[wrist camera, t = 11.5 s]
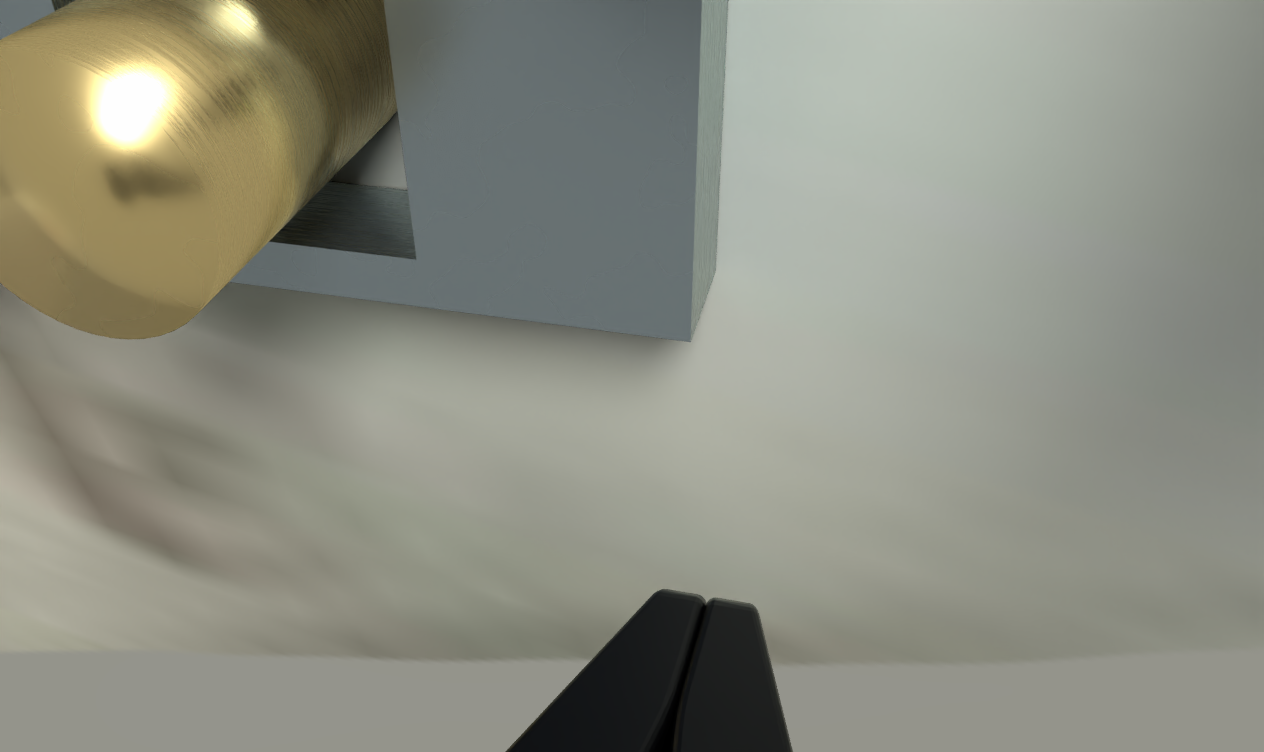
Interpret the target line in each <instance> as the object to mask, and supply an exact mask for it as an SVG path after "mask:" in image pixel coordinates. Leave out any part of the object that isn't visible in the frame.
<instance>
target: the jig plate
mask: <svg viewBox="0 0 1264 752" xmlns="http://www.w3.org/2000/svg"><path fill="white" fill-rule="evenodd" d="M73 1H75V0H0V40H1V39H3V38H5V37H7V36H9V35H10V34H12V33H14V32H16V31H18V30H20V29H22V28H24V27H26V26H28V25H30V24H31V23H33V22H35V21H37V20H39V19H41V18H43V17H45V16H47V15H49V14H51V13H52V12H54V11H56V10H58V9H60V8H62V7H64V6H66V5H68V4H70V3H72V2H73ZM384 8H385V16H386V24H387V31H388V39H389V47H390V55H391V63H392V71H393V79H394V86H395V94H396V102H397V110H398V118H399V126H400V134H401V141H402V149H403V157H404V165H405V173H406V181H407V188H408V190H400V189H391V188H382V187H373V186H363V185H354V184H345V183H336V182H327V183H326V184H325V185H324V186H323V187H322V188H321V189H320V190H319V191H318V192H317V193H316V194H315V196H314V197H313V198H312V199H311V200H310V201H309V202H308V203H307V204H306V205H305V206H304V207H303V208H302V209H301V210H300V211H299V212H298V213H297V214H296V215H295V216H294V217H293V218H292V219H291V220H290V221H289V222H288V223H287V224H286V225H285V226H284V227H283V228H282V229H281V230H280V231H279V232H278V233H277V234H276V235H275V236H274V237H273V238H272V239H271V240H270V241H269V242H268V243H267V244H266V245H265V246H264V247H263V248H262V249H261V250H260V251H259V252H258V253H257V254H256V255H255V256H254V257H253V258H252V259H251V260H250V261H249V262H248V263H247V264H246V265H245V266H244V267H243V268H242V269H241V270H240V271H239V272H238V273H237V274H236V275H235V276H234V277H233V278H232V279H231V280H230V281H229V282H234V283H241V284H249V285H257V286H264V287H272V288H280V289H287V290H295V291H303V292H310V293H318V294H326V295H333V296H341V297H349V298H356V299H364V300H372V301H380V302H387V303H395V304H403V305H410V306H418V307H426V308H433V309H441V310H449V311H456V312H464V313H472V314H479V315H487V316H495V317H502V318H510V319H518V320H525V321H533V322H541V323H548V324H556V325H564V326H571V327H579V328H587V329H594V330H602V331H610V332H617V333H625V334H633V335H640V336H648V337H656V338H664V339H671V340H679V341H687V342H691V340H692V337H693V334H694V331H695V328H696V325H697V322H698V320H699V317H700V314H701V311H702V308H703V305H704V302H705V300H706V297H707V294H708V291H709V288H710V285H711V282H712V280H713V277H714V274H715V271H716V250H717V229H718V207H719V185H720V163H721V142H722V120H723V98H724V76H725V55H726V33H727V11H728V0H384Z"/></svg>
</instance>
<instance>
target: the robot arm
mask: <svg viewBox="0 0 1264 752" xmlns="http://www.w3.org/2000/svg"><path fill="white" fill-rule="evenodd" d="M506 752H793V751H792V747H791V743H790V739H789V734H788V730H787V726H786V722H785V718H784V714H783V710H782V706H781V702H780V698H779V694H778V689H777V686H776V682H775V677H774V673H773V669H772V665H771V661H770V657H769V653H768V649H767V645H766V641H765V637H764V633H763V628H762V624H761V620H760V616H759V613H758V610H757V609H756V607H755V606H754V605H753V604H750V603H745V602H739V601H733V600H727V599H721V598H712V599H710V600H709V601H708V602H707V603H706V601H705V599H704V598H703V597H702V596H700V595H698V594H692V593H686V592H680V591H674V590H668V589H662V590H659V591H657V592H655V593H654V594H653V595H652V596H651V597H650V598H649V599H648V600H647V601H646V602H645V603H644V605H643V606H642V607H641V608H640V609H639V610H638V611H637V612H636V613H635V614H634V615H633V616H632V617H631V618H630V619H629V621H628V622H627V623H626V624H625V625H624V626H623V627H622V628H621V629H620V630H619V631H618V632H617V633H616V634H615V635H614V637H613V638H612V639H611V640H610V641H609V642H608V643H607V644H606V645H605V646H604V647H603V648H602V649H601V650H600V651H599V653H598V654H597V655H596V656H595V657H594V658H593V659H592V660H591V661H590V662H589V663H588V664H587V665H586V666H585V667H584V669H583V670H582V671H581V672H580V673H579V674H578V675H577V676H576V677H575V678H574V679H573V680H572V682H570V683H569V685H568V686H567V687H566V688H565V689H564V690H563V691H562V692H561V693H560V694H559V695H558V696H557V697H556V698H555V699H554V701H553V702H552V703H551V704H550V705H549V706H548V707H547V708H546V709H545V710H544V711H543V712H542V713H541V714H540V715H539V717H538V718H537V719H536V720H535V721H534V722H533V723H532V724H531V725H530V726H529V727H528V728H527V730H525V732H524V733H523V734H522V735H521V736H520V737H519V738H518V739H517V740H516V741H515V742H514V743H513V744H512V745H511V746H510V748H509V749H508V750H507V751H506Z"/></svg>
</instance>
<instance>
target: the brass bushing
mask: <svg viewBox="0 0 1264 752" xmlns="http://www.w3.org/2000/svg"><path fill="white" fill-rule="evenodd" d="M396 111H397V102H396V94H395V86H394V79H393V71H392V63H391V55H390V47H389V39H388V31H387V24H386V16H385V8H384V0H75V1H73V2H72V3H70V4H68V5H66V6H64V7H62V8H60V9H58V10H56V11H54V12H52V13H51V14H49V15H47V16H45V17H43V18H41V19H39V20H37V21H35V22H33V23H31V24H30V25H28V26H26V27H24V28H22V29H20V30H18V31H16V32H14V33H12V34H10V35H9V36H7V37H5V38H3V39H1V40H0V283H1V284H3V285H4V286H5V287H6V288H7V289H8V290H10V291H11V292H12V293H14V294H15V295H16V296H18V297H19V298H20V299H22V300H23V301H24V302H26V303H28V304H29V305H31V306H32V307H34V308H35V309H37V310H39V311H40V312H42V313H44V314H46V315H48V316H49V317H51V318H53V319H55V320H57V321H59V322H61V323H64V324H66V325H69V326H71V327H73V328H76V329H79V330H82V331H85V332H88V333H92V334H95V335H100V336H105V337H110V338H119V339H146V338H151V337H156V336H161V335H163V334H166V333H169V332H172V331H174V330H176V329H178V328H179V327H181V326H183V325H185V324H186V323H187V322H189V321H190V320H191V319H192V318H193V317H194V316H196V315H197V314H198V313H199V312H200V311H201V310H202V309H203V308H204V307H205V306H206V305H207V304H208V303H209V302H210V301H211V299H212V298H213V297H214V296H215V295H216V294H217V293H218V292H219V291H220V290H221V289H222V288H223V287H224V286H225V285H226V284H227V283H228V282H229V281H230V280H231V279H232V278H233V277H234V276H235V275H236V274H237V273H238V272H239V271H240V270H241V269H242V268H243V267H244V266H245V265H246V264H247V263H248V262H249V261H250V260H251V259H252V258H253V257H254V256H255V255H256V254H257V253H258V252H259V251H260V250H261V249H262V248H263V247H264V246H265V245H266V244H267V243H268V242H269V241H270V240H271V239H272V238H273V237H274V236H275V235H276V234H277V233H278V232H279V231H280V230H281V229H282V228H283V227H284V226H285V225H286V224H287V223H288V222H289V221H290V220H291V219H292V218H293V217H294V216H295V215H296V214H297V213H298V212H299V211H300V210H301V209H302V208H303V207H304V206H305V205H306V204H307V203H308V202H309V201H310V200H311V199H312V198H313V197H314V196H315V194H316V193H317V192H318V191H319V190H320V189H321V188H322V187H323V186H324V185H325V184H326V183H327V182H328V181H329V180H330V179H331V178H332V177H333V176H334V175H335V174H336V173H337V172H338V171H339V170H340V169H341V168H342V167H343V166H344V165H345V164H346V163H347V162H348V161H349V160H350V159H351V158H352V157H353V156H354V155H355V154H356V153H357V152H358V151H359V150H360V149H361V148H362V147H363V146H364V145H365V144H366V143H367V142H368V141H369V140H370V139H371V138H372V137H373V136H374V135H375V134H376V133H377V132H378V131H379V130H380V129H381V128H382V127H383V126H384V125H385V124H386V123H387V122H388V121H389V120H390V119H391V117H392V116H393V115H394V114H395V112H396Z"/></svg>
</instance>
